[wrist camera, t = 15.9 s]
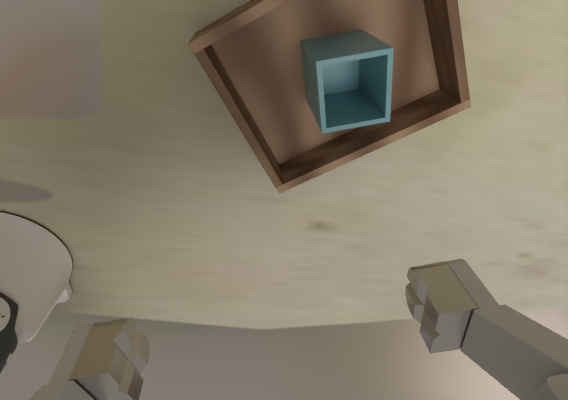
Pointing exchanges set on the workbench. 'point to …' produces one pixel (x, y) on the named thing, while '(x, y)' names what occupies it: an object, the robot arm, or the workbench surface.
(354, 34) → the teal crate
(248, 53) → the walnut crate
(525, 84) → the workbench surface
